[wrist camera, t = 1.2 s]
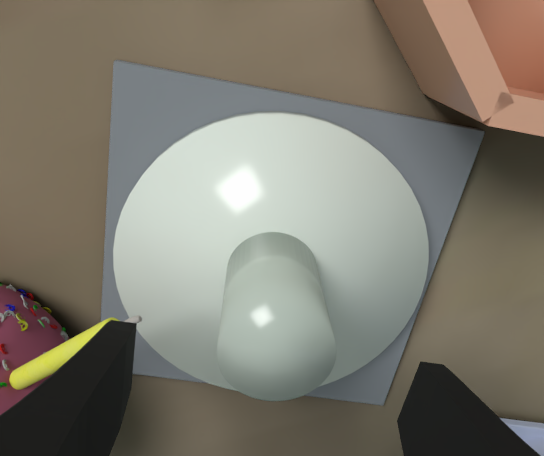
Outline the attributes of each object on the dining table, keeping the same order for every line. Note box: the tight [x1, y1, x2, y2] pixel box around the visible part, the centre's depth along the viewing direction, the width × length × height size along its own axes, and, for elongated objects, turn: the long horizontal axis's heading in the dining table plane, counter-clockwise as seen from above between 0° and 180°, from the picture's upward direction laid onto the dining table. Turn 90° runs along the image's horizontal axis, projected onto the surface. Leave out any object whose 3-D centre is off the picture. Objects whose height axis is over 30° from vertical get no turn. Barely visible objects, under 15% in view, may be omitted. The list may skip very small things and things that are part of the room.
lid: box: [113, 111, 429, 401], centre depth 15 cm, size 11×11×5 cm
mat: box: [101, 60, 485, 405], centre depth 18 cm, size 12×12×1 cm
